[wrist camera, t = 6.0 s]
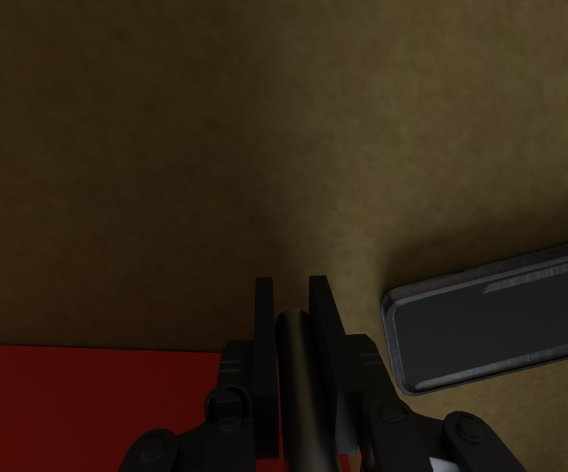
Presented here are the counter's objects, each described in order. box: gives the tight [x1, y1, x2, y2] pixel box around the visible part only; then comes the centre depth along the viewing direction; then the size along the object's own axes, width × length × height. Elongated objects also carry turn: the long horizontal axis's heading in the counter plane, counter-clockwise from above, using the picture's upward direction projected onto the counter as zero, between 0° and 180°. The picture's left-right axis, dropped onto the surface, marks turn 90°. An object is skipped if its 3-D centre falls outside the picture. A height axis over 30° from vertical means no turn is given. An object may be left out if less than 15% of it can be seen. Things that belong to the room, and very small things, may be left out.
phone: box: [380, 243, 568, 396], centre depth 21 cm, size 8×1×15 cm
